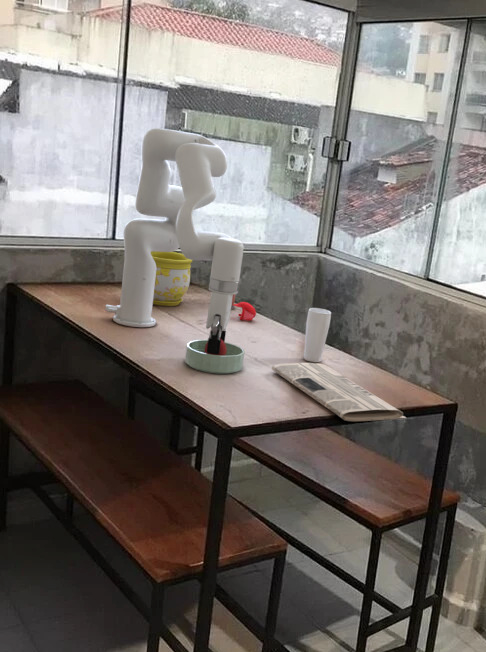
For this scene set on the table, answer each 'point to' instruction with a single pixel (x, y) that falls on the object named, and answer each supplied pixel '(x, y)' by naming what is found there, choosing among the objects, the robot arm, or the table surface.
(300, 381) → the newspaper
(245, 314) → the red toy figurine
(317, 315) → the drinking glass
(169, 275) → the flowerpot
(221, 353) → the onion
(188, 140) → the robot arm
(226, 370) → the bowl
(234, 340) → the table surface
